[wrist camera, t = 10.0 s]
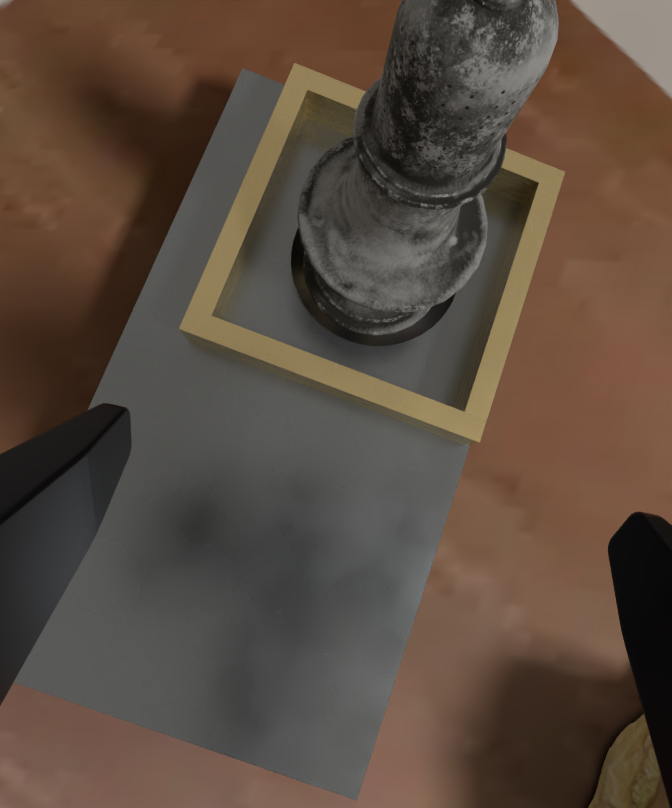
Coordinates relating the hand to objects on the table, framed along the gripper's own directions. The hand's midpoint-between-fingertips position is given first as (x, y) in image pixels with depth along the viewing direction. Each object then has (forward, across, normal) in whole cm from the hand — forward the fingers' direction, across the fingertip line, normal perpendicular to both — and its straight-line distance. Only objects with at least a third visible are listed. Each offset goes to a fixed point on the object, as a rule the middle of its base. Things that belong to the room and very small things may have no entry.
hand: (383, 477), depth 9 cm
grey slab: (+10, +2, +6) cm, 12 cm away
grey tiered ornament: (+12, 0, +1) cm, 12 cm away
